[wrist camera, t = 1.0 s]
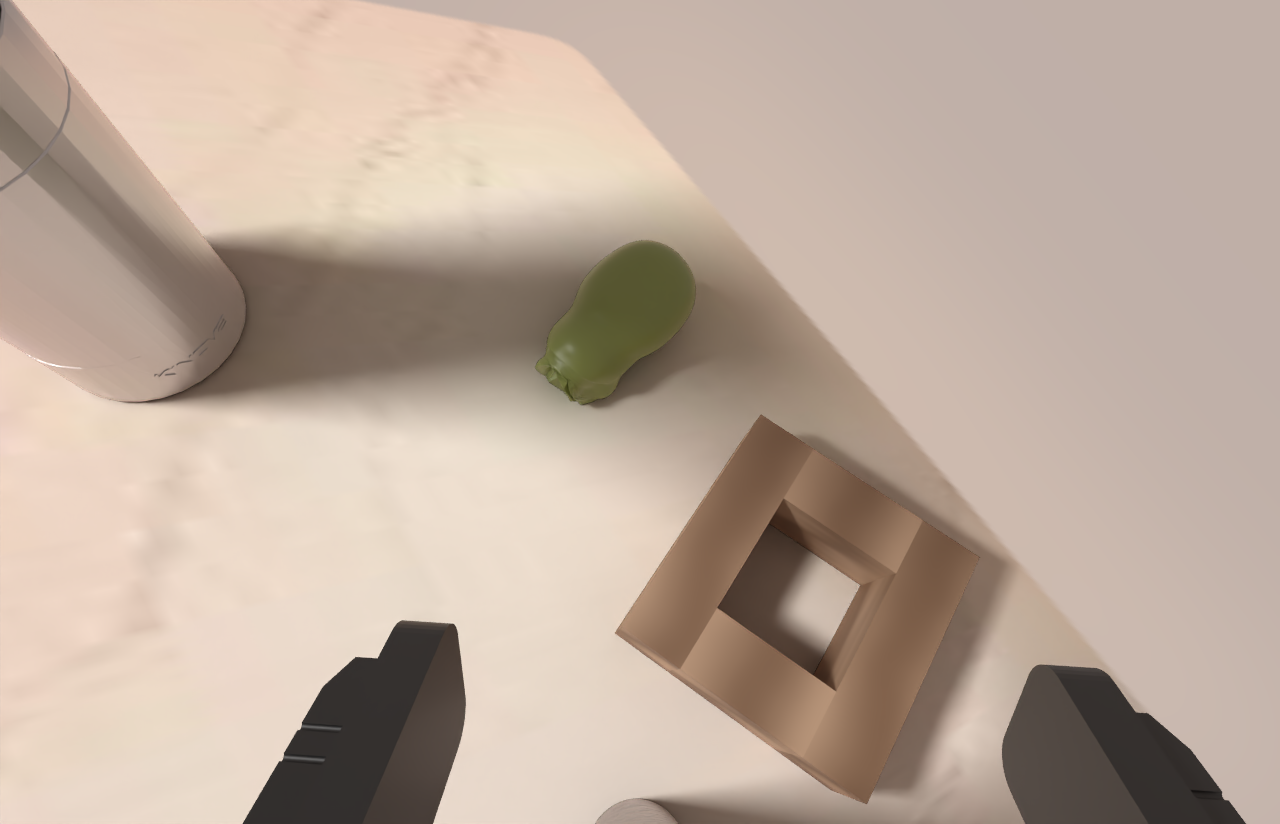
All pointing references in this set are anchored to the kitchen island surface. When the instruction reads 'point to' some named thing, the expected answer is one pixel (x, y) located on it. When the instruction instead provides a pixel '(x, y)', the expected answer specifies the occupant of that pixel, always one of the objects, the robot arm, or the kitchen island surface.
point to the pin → (636, 813)
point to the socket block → (866, 638)
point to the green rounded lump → (618, 319)
